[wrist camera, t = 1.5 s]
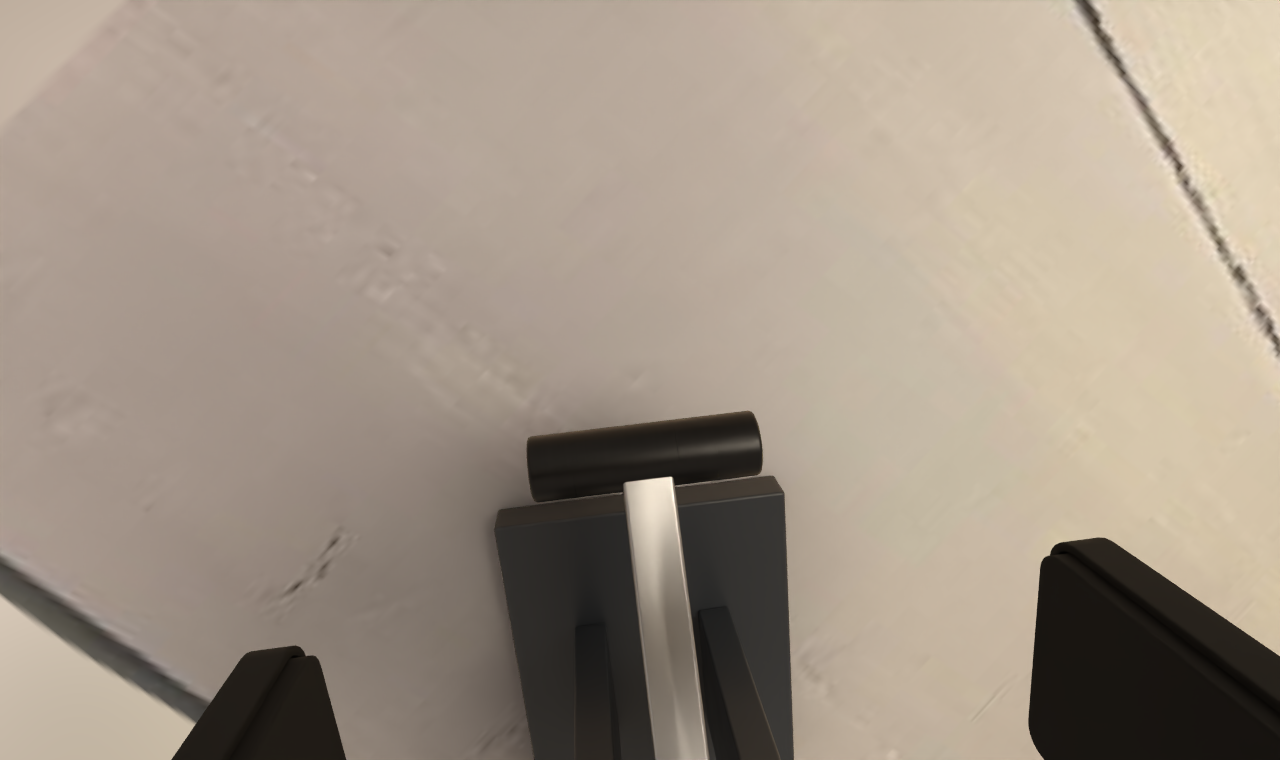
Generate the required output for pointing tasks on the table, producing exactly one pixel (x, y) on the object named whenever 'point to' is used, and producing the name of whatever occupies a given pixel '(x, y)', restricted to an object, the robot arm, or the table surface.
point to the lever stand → (609, 630)
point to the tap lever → (654, 538)
